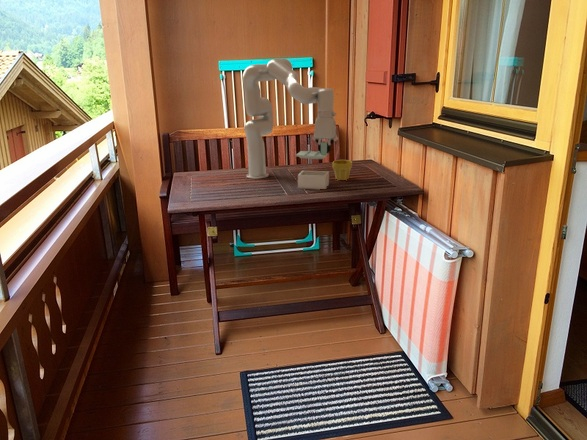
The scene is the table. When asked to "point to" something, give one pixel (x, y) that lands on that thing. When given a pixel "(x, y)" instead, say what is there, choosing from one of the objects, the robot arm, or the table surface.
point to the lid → (313, 154)
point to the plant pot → (342, 169)
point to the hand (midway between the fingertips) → (324, 152)
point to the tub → (313, 179)
